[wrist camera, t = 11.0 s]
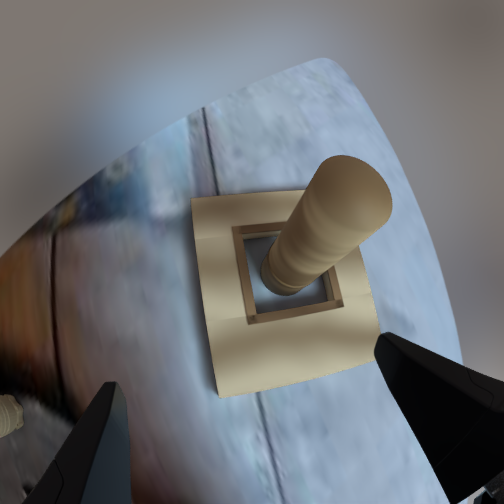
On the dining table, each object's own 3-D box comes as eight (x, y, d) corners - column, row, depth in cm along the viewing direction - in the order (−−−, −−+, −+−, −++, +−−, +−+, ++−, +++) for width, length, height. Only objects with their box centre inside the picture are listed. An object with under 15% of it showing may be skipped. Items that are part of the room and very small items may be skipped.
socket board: (378, 357, 23) (386, 356, 22) (218, 396, 20) (219, 398, 19) (335, 194, 28) (340, 187, 27) (190, 205, 26) (190, 197, 24)
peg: (312, 292, 25) (404, 228, 13) (265, 300, 24) (329, 235, 12) (301, 246, 26) (375, 155, 14) (255, 252, 25) (303, 153, 13)
